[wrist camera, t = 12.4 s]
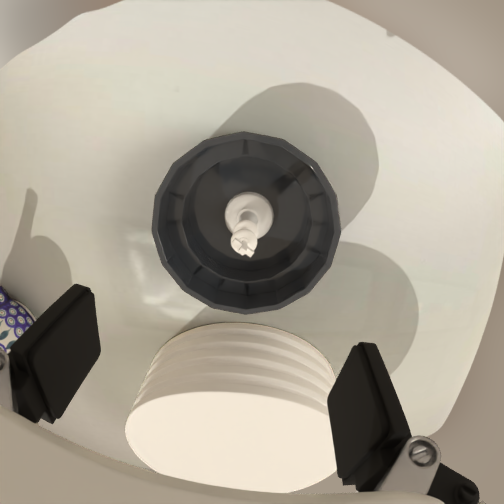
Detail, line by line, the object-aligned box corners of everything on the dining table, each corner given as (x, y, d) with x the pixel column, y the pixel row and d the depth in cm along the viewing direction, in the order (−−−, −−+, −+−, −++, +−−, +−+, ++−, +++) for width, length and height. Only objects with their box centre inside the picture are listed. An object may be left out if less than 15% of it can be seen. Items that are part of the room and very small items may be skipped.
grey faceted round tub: (183, 123, 28) (165, 120, 22) (342, 154, 28) (360, 158, 22) (165, 268, 33) (147, 294, 28) (304, 295, 34) (311, 325, 28)
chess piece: (253, 247, 31) (248, 295, 22) (215, 219, 30) (193, 256, 21) (283, 211, 30) (292, 246, 21) (244, 181, 29) (234, 202, 20)
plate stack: (206, 452, 48) (198, 500, 37) (114, 351, 39) (82, 407, 28) (351, 420, 43) (364, 474, 32) (300, 290, 34) (313, 357, 23)
